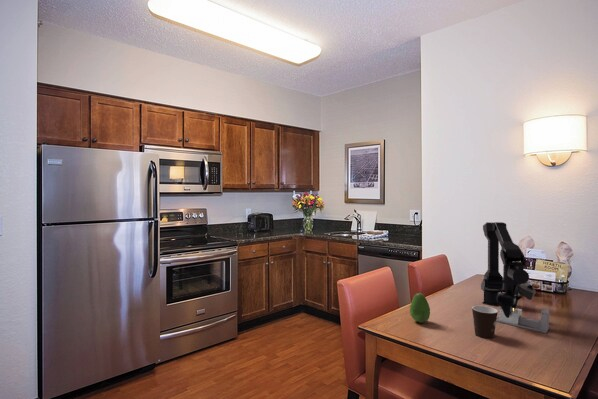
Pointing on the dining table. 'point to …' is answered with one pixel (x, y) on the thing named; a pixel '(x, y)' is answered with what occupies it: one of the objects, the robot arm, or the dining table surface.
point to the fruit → (420, 308)
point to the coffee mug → (484, 321)
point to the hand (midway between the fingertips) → (510, 314)
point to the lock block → (511, 316)
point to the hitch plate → (533, 322)
